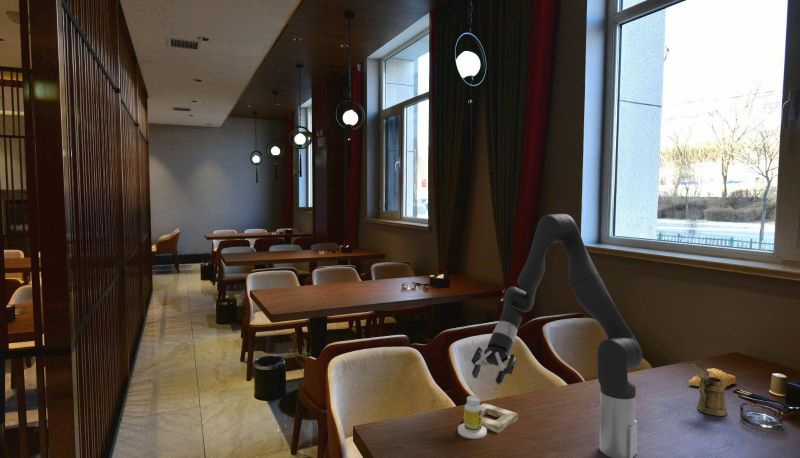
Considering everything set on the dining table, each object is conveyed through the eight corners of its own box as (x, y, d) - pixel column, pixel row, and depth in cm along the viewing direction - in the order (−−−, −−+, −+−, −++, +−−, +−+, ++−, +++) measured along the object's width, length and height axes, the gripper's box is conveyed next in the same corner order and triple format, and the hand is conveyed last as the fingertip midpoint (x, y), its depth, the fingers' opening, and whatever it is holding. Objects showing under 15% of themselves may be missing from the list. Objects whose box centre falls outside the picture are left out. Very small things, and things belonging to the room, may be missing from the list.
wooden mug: (681, 409, 169) (682, 358, 168) (708, 404, 173) (710, 354, 173) (705, 420, 160) (706, 366, 160) (733, 414, 165) (735, 362, 164)
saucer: (492, 431, 151) (492, 428, 151) (476, 441, 145) (476, 438, 145) (467, 423, 157) (467, 420, 157) (452, 432, 150) (452, 429, 150)
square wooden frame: (518, 419, 160) (518, 413, 160) (498, 432, 150) (498, 426, 150) (484, 408, 169) (484, 403, 169) (463, 420, 159) (463, 414, 159)
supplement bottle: (481, 433, 148) (481, 402, 147) (463, 431, 149) (463, 400, 148) (482, 425, 153) (482, 395, 153) (464, 424, 154) (465, 394, 154)
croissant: (694, 398, 188) (702, 383, 184) (677, 378, 197) (684, 364, 193) (740, 393, 192) (749, 379, 188) (722, 374, 201) (730, 360, 197)
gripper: (480, 328, 167) (462, 369, 158) (518, 335, 158) (501, 379, 149) (488, 340, 171) (471, 380, 163) (525, 347, 162) (509, 391, 153)
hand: (485, 379), depth 156 cm, fingers open, 8 cm apart
